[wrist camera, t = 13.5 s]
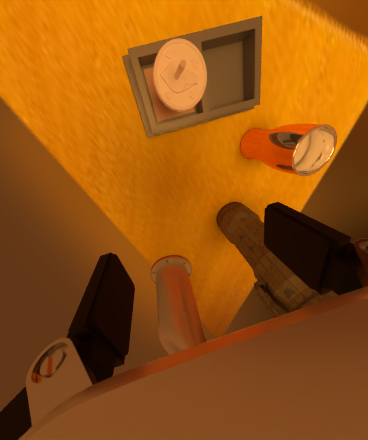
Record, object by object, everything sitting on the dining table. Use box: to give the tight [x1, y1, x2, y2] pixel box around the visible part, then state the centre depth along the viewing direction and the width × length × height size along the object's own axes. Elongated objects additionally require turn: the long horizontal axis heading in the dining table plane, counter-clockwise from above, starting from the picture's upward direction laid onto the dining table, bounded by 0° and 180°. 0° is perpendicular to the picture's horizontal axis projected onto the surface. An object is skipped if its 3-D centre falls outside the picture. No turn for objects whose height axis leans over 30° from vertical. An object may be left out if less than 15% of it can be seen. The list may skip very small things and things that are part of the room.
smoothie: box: [153, 38, 207, 112], centre depth 20 cm, size 6×6×14 cm
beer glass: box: [240, 124, 337, 176], centre depth 28 cm, size 7×7×15 cm
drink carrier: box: [122, 16, 262, 138], centre depth 25 cm, size 11×21×4 cm, turn 103°
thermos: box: [217, 202, 336, 318], centre depth 28 cm, size 9×12×35 cm
